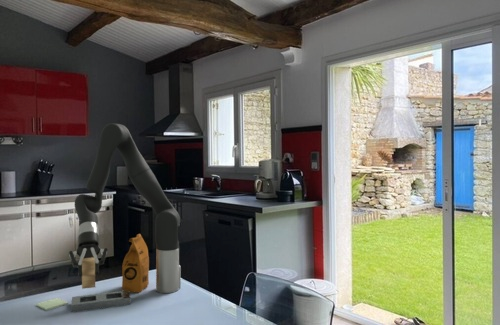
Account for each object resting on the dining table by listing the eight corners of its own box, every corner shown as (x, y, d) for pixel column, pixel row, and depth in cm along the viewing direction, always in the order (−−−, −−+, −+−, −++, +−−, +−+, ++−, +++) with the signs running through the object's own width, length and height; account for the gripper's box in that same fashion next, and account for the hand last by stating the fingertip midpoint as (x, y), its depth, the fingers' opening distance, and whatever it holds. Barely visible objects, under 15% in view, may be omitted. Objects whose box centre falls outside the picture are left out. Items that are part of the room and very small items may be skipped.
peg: (95, 283, 145) (94, 257, 145) (95, 287, 140) (95, 259, 140) (82, 285, 143) (82, 258, 143) (82, 288, 139) (81, 261, 139)
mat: (57, 299, 148) (57, 297, 148) (68, 304, 143) (68, 302, 143) (35, 305, 141) (35, 303, 141) (46, 310, 137) (46, 308, 137)
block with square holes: (127, 296, 151) (127, 290, 151) (130, 304, 143) (130, 297, 143) (72, 303, 144) (72, 296, 144) (71, 312, 135) (71, 305, 135)
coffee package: (117, 292, 156) (118, 238, 156) (130, 283, 168) (130, 233, 168) (141, 293, 155) (141, 239, 155) (152, 284, 167) (152, 233, 167)
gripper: (68, 231, 146) (66, 272, 135) (108, 229, 151) (109, 267, 140) (68, 243, 151) (67, 282, 139) (107, 240, 156) (109, 278, 145)
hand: (88, 275), depth 140 cm, fingers closed on peg, 4 cm apart
